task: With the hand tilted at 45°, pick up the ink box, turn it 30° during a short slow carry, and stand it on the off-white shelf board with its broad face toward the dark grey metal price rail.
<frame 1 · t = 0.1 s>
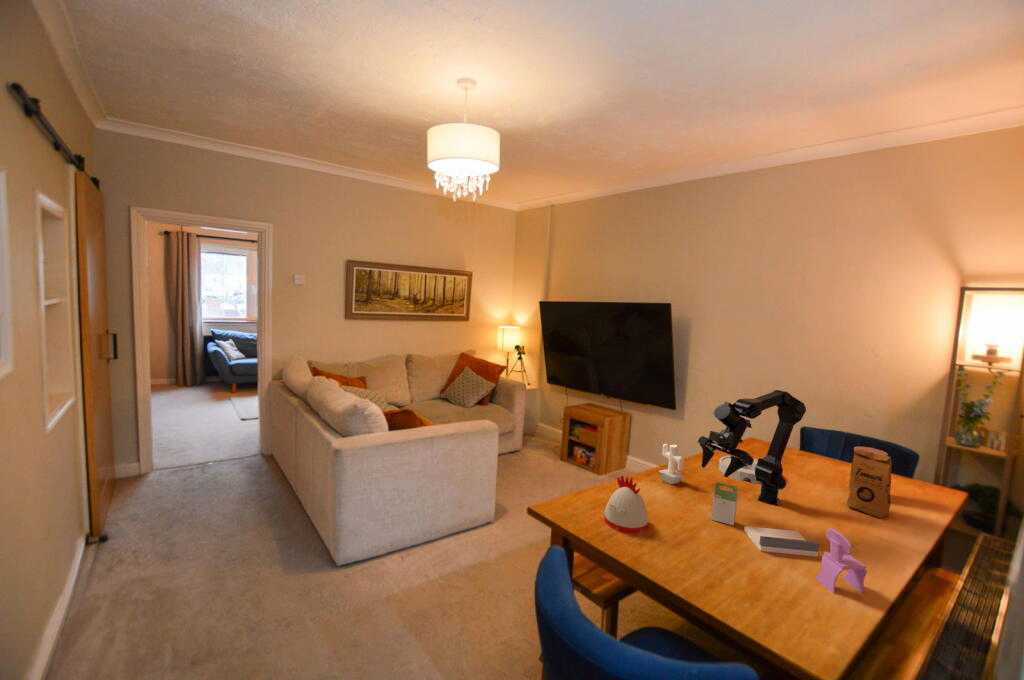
hand: (713, 472, 157), 15 cm above the table, tool tilted 35°, fingers open, 9 cm apart
toy chair: (839, 586, 121), on the table
kitchen timer: (625, 522, 149), on the table
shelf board: (779, 543, 141), on the table
ink box: (723, 521, 154), on the table
figurine: (670, 482, 185), on the table
coffee jar: (864, 495, 182), on the table
ashtray: (747, 474, 200), on the table
coffee package: (867, 511, 167), on the table
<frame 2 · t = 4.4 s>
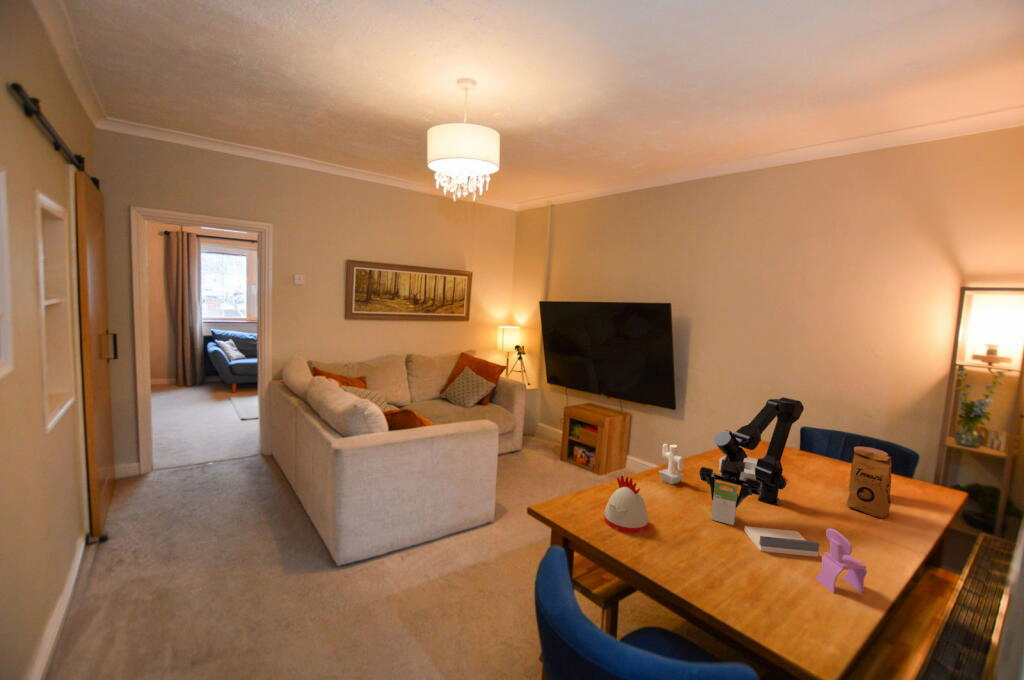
hand: (724, 503, 152), 7 cm above the table, tool tilted 45°, fingers closed on ink box, 7 cm apart
ink box: (723, 521, 154), on the table, touching gripper
everything else where it was.
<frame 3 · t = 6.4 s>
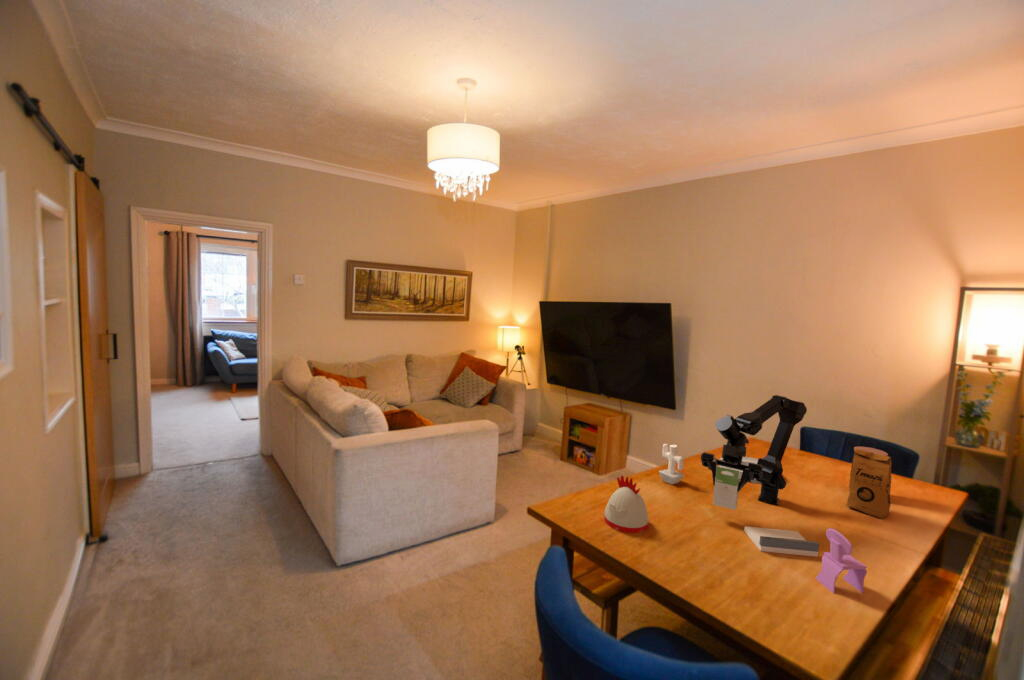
hand: (725, 488, 151), 12 cm above the table, tool tilted 45°, fingers closed on ink box, 7 cm apart
ink box: (724, 506, 153), point 5 cm above the table, touching gripper
everything else where it was.
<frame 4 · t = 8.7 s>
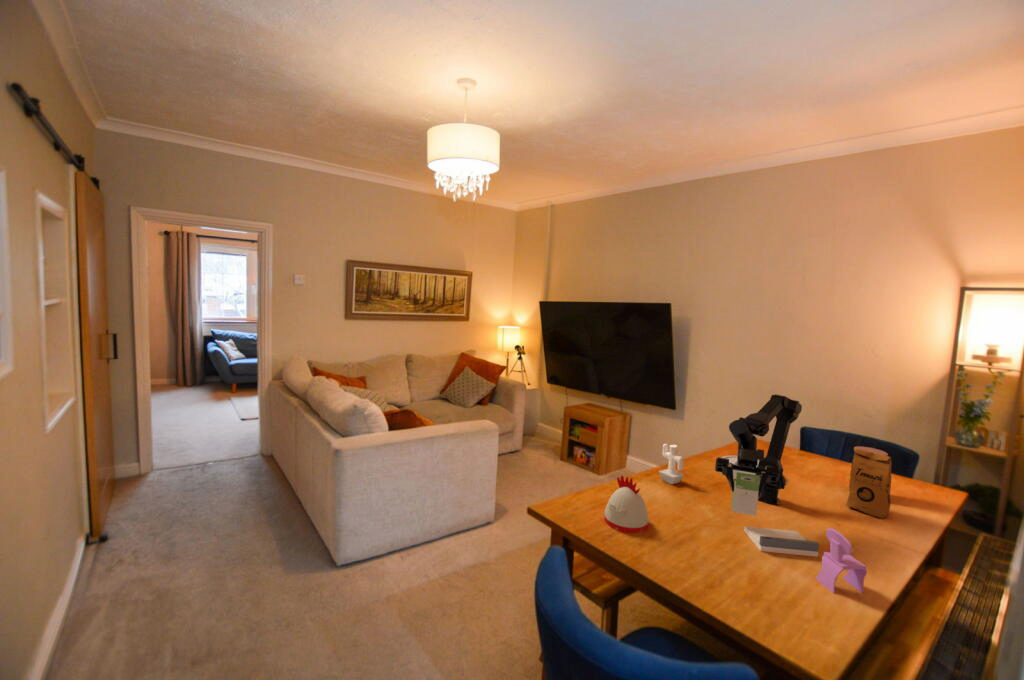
hand: (745, 493, 146), 12 cm above the table, tool tilted 45°, fingers closed on ink box, 7 cm apart
ink box: (743, 512, 148), point 5 cm above the table, touching gripper
everything else where it was.
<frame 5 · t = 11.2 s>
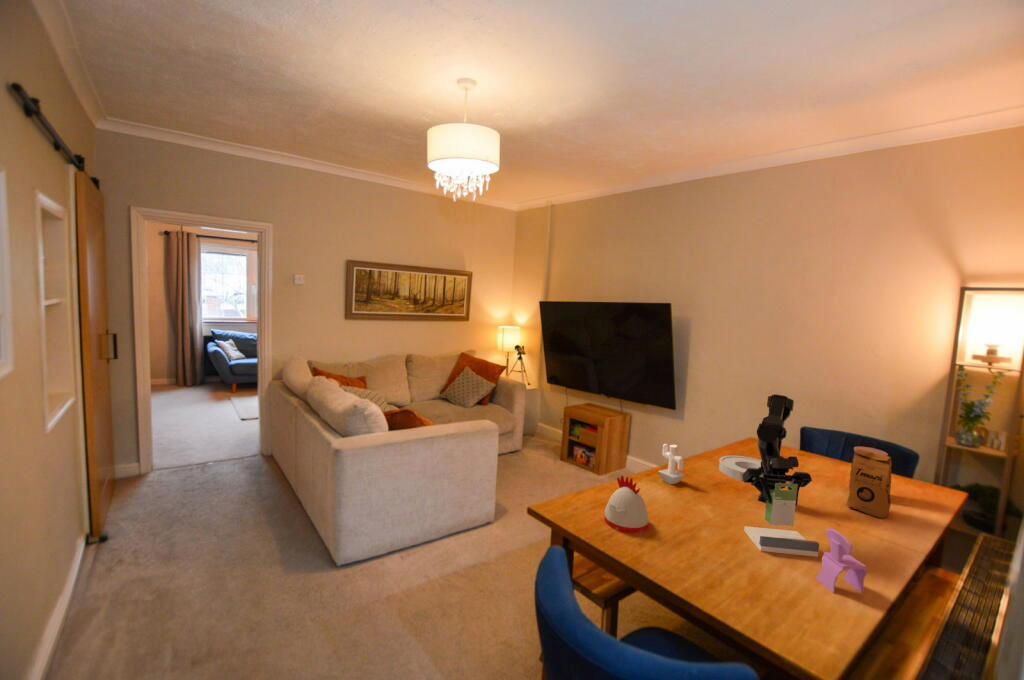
hand: (783, 504, 140), 12 cm above the table, tool tilted 45°, fingers closed on ink box, 7 cm apart
ink box: (778, 523, 142), point 5 cm above the table, touching gripper
everything else where it was.
when the fingers open (9 cm above the table, at t = 13.1 s): ink box drops 1 cm, resting on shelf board.
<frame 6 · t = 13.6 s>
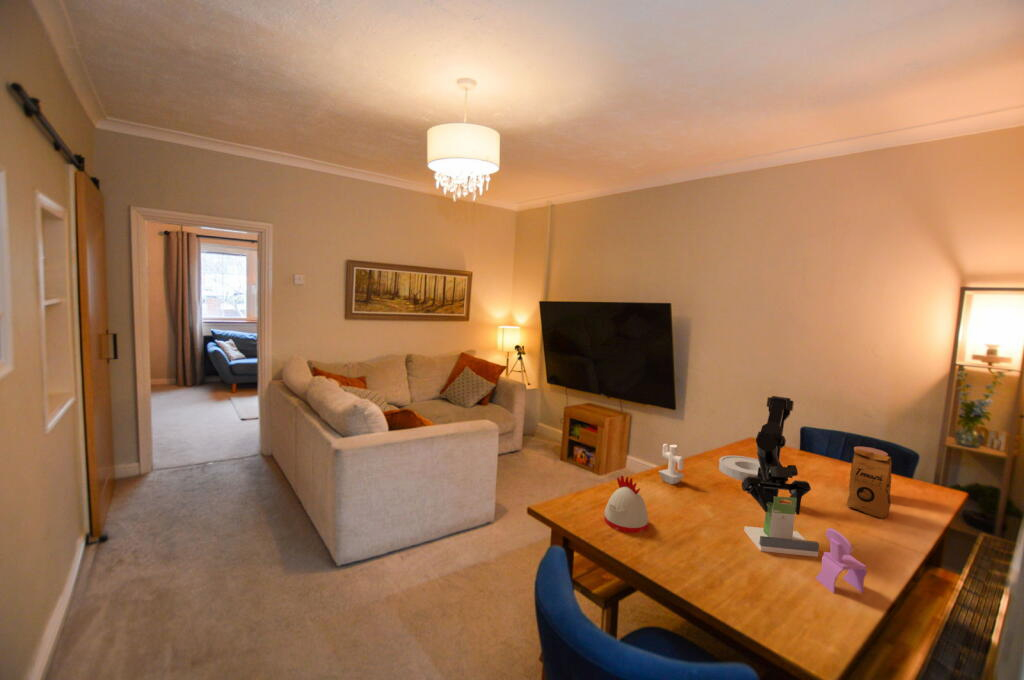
hand: (782, 513, 140), 10 cm above the table, tool tilted 45°, fingers open, 9 cm apart
ink box: (777, 536, 142), point 1 cm above the table, touching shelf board
everything else where it was.
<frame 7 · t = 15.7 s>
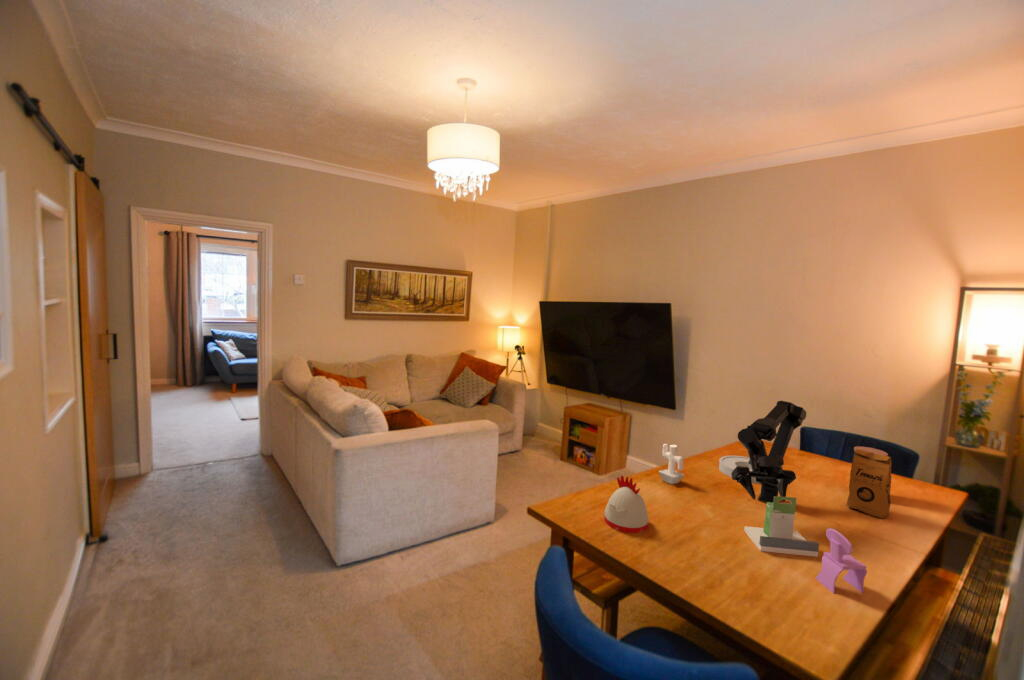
hand: (769, 500, 149), 10 cm above the table, tool tilted 45°, fingers open, 9 cm apart
nothing on the table moved.
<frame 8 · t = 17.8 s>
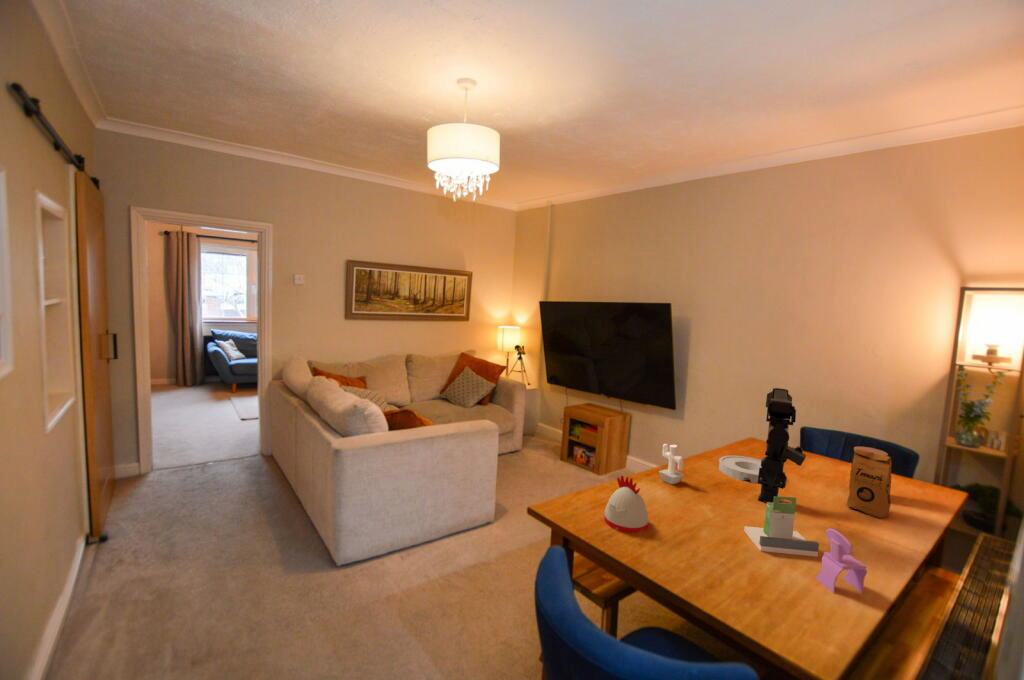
hand: (772, 482, 155), 13 cm above the table, tool pointing down, fingers open, 9 cm apart
nothing on the table moved.
at the end: ink box 0.2 cm from the target spot on the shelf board, point 1.3 cm above the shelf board's base; ink box tilted 0°; the gripper is holding nothing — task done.
